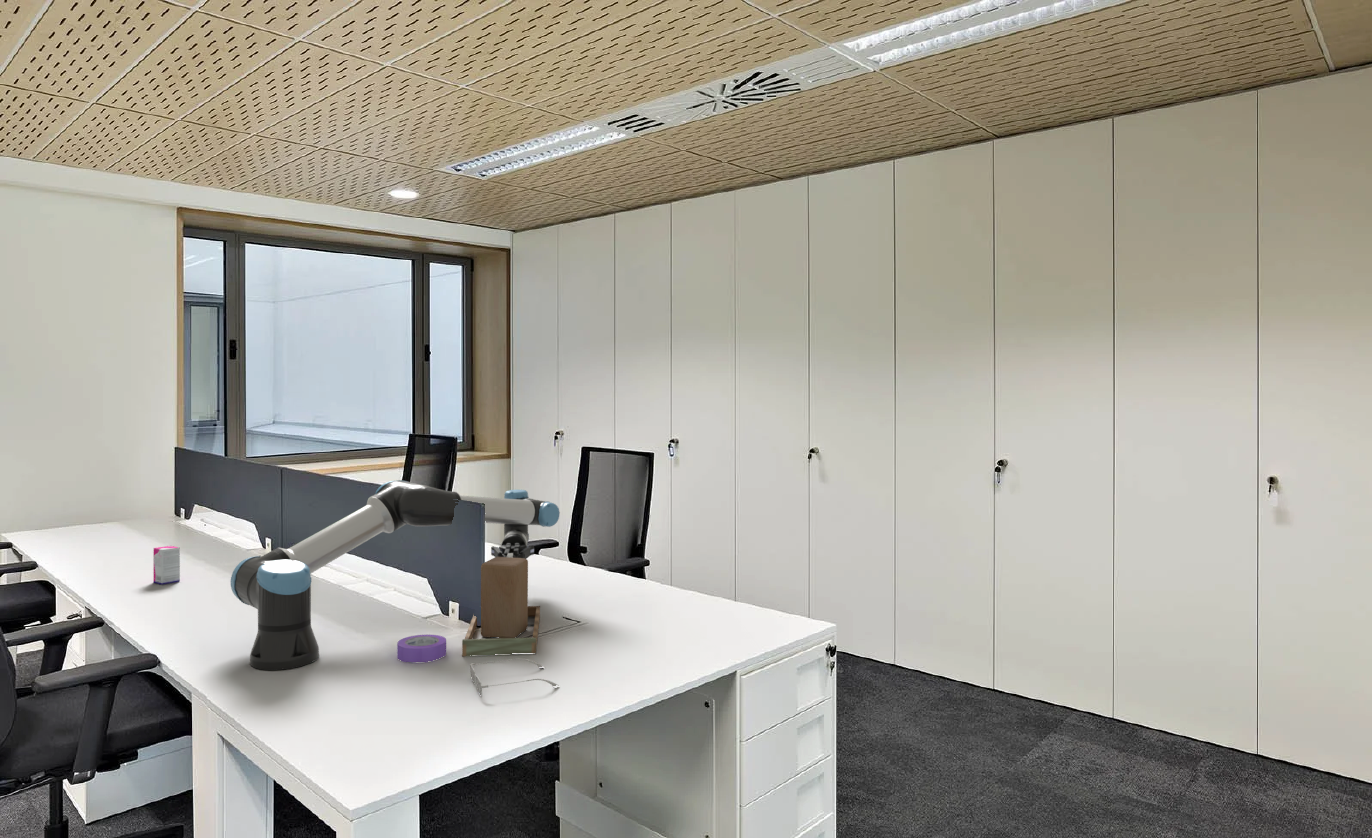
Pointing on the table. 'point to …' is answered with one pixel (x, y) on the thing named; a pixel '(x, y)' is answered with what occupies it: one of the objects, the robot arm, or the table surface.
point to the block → (504, 597)
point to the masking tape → (421, 648)
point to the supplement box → (166, 565)
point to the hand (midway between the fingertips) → (509, 562)
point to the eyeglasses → (499, 684)
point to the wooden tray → (502, 639)
